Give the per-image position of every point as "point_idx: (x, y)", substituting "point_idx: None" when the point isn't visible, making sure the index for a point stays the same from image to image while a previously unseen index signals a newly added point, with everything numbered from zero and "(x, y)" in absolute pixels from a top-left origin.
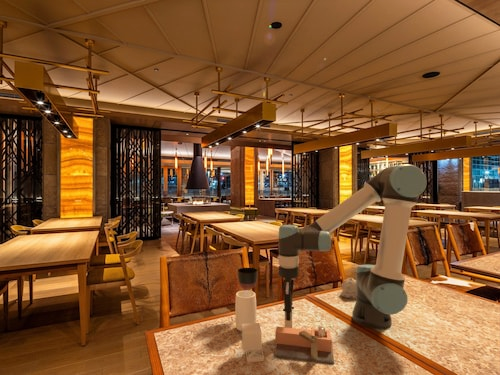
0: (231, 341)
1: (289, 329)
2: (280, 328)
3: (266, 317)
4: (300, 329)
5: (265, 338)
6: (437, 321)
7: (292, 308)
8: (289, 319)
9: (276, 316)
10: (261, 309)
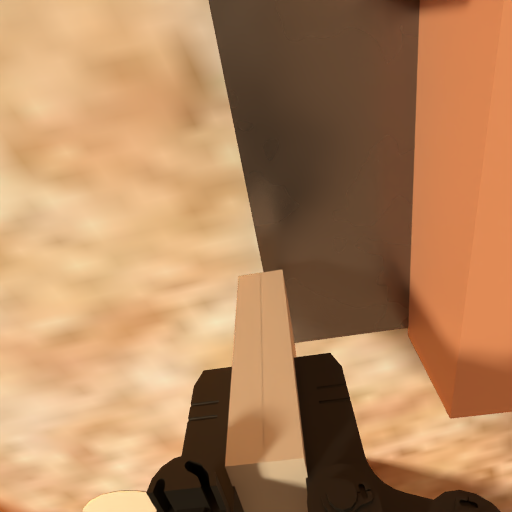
0: None
1: (509, 299)
2: (494, 383)
3: (90, 448)
4: (500, 164)
5: (384, 384)
6: None
7: (220, 491)
8: (342, 372)
9: (27, 406)
10: (3, 494)
